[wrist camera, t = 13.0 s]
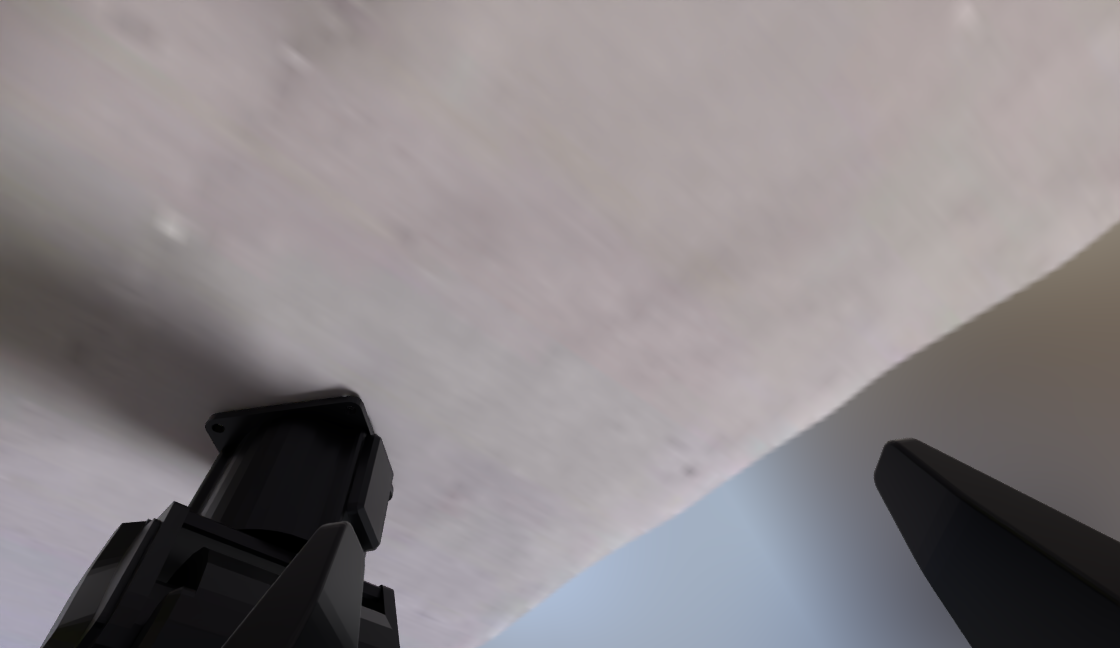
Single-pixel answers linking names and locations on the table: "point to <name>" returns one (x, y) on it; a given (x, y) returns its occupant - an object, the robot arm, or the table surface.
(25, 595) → the table surface
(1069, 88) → the table surface
